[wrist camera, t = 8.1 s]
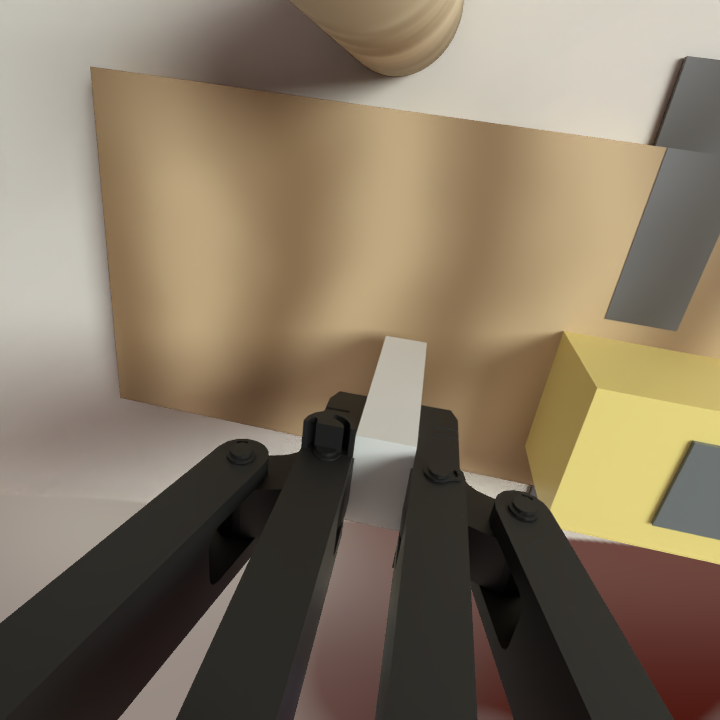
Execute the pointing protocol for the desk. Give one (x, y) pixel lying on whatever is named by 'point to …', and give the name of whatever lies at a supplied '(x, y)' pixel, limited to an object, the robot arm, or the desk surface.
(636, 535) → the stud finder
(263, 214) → the board
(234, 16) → the desk surface
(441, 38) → the awl
